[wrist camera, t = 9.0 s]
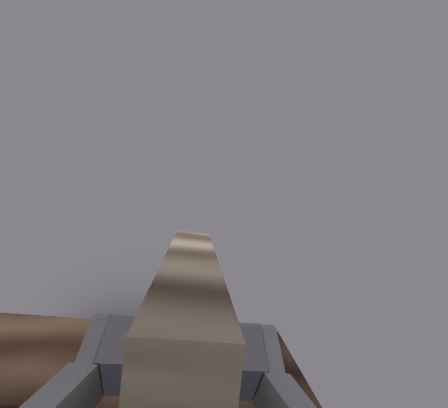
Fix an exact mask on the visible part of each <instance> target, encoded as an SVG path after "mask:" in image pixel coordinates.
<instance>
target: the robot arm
mask: <svg viewBox="0 0 448 408" xmlns="http://www.w3.org/2000/svg"><path fill="white" fill-rule="evenodd" d="M135 317H136V316H122V315H112V314H98V313H96V314H95V315H94V317H93V318H92V320H91V323H90V325H89V328H88V330H87V333H86V335H85V337H84V340H83V342H82V345H81V347H80V350H79V352H78V354H77V357H76V359H75V362H74V363H68V364H67V365H66V366H65V367H64V368H63V369H62V370H60V371H59V372H58V373H57V374H56V375H55V376H54V377H53V378H51V379H50V380H49V381H48V382H47V383H46V384H45V385H44V386H42V387H41V388H40V389H39V390H38V391H37V392H36V393H35V394H33V395H32V396H31V397H30V398H29V399H28V400H27V401H26V402H24V403H23V404H22V405H21V406H20V407H19V408H95V407H96V406H97V404H98V403H99V402H100V401H101V400H102V398H103V396H120V387H121V378H122V368H123V359H124V349H125V340H126V335H127V333H128V331H129V329H130V327H131V325H132V323H133V321H134V319H135ZM239 325H240V328H241V331H242V334H243V337H244V340H245V343H246V345H245V354H244V362H243V371H242V380H241V388H240V397H239V400H240V401H253V402H252V404H253V405H254V407H255V408H317V407H316V406H315V405H314V404H313V402H312V401H311V400H310V398H309V397H308V396H307V395H306V393H305V392H304V391H303V390H302V388H301V387H300V386H299V385H298V383H297V382H296V381H295V379H294V378H293V377H292V376H291V374H288V373H285V368H284V363H283V358H282V354H281V349H280V344H279V339H278V334H277V330H276V327H275V326H274V325H263V324H253V323H239Z"/></svg>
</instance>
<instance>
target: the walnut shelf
mask: <svg viewBox="0 0 448 408" xmlns="http://www.w3.org/2000/svg"><path fill="white" fill-rule="evenodd" d="M91 320H92V319H83V318H69V317H54V316H40V315H25V314H10V313H0V408H19V407H20V406H21V405H22V404H23V403H24V402H26V401H27V400H28V399H29V398H30V397H31V396H32V395H33V394H35V393H36V392H37V391H38V390H39V389H40V388H41V387H42V386H44V385H45V384H46V383H47V382H48V381H49V380H50V379H51V378H53V377H54V376H55V375H56V374H57V373H58V372H59V371H60V370H62V369H63V368H64V367H65V366H66V365H67V364H68V363H74V362H75V359H76V357H77V354H78V352H79V350H80V347H81V345H82V342H83V340H84V337H85V335H86V333H87V330H88V328H89V325H90V323H91ZM277 334H278V339H279V344H280V349H281V354H282V358H283V363H284V368H285V373H288V374H291V376H292V377H293V378H294V379H295V381H296V382H297V383H298V385H299V386H300V387H301V388H302V390H303V391H304V392H305V393H306V395H307V396H308V397H309V398H310V400H311V401H312V402H313V404H314V405H315V406H316V407H317V408H322V407H321V405H320V404H319V402H318V400H317V398H316V397H315V395H314V393H313V392H312V390H311V388H310V387H309V385H308V383H307V381H306V379H305V378H304V376H303V374H302V373H301V371H300V369H299V367H298V366H297V364H296V362H295V361H294V359H293V357H292V355H291V354H290V352H289V350H288V349H287V347H286V345H285V343H284V342H283V340H282V338H281V337H280V335H279V333H278V332H277ZM119 397H120V396H103V398H102V400H101V401H100V402H99V403H98V404H97V406H96V407H95V408H118V406H119ZM252 402H253V401H240V400H239V405H238V408H255V407H254V405H253V404H252Z"/></svg>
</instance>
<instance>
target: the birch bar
mask: <svg viewBox="0 0 448 408" xmlns="http://www.w3.org/2000/svg"><path fill="white" fill-rule="evenodd" d="M245 345H246V343H245V340H244V337H243V334H242V331H241V328H240V325H239V322H238V320H237V317H236V314H235V310H234V308H233V305H232V301H231V298H230V296H229V292H228V289H227V287H226V284H225V281H224V277H223V274H222V271H221V268H220V265H219V262H218V260H217V257H216V253H215V250H214V247H213V244H212V241H211V238H210V235H209V234H205V233H195V232H185V231H177V232H176V234H175V236H174V238H173V240H172V242H171V245H170V246H169V249H168V251H167V253H166V255H165V257H164V259H163V261H162V263H161V265H160V267H159V269H158V271H157V274H156V275H155V278H154V280H153V282H152V284H151V286H150V288H149V290H148V292H147V294H146V296H145V298H144V300H143V302H142V304H141V307H140V309H139V311H138V313H137V315H136V317H135V319H134V321H133V323H132V325H131V327H130V329H129V331H128V333H127V335H126V340H125V349H124V359H123V368H122V378H121V387H120V397H119V406H118V408H238V405H239V397H240V388H241V380H242V371H243V362H244V354H245Z"/></svg>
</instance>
